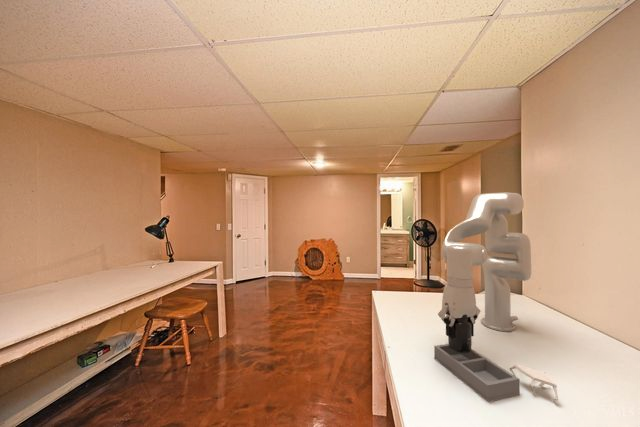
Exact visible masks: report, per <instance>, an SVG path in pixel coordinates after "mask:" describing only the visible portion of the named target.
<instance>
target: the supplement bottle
mask: <svg viewBox="0 0 640 427" xmlns="http://www.w3.org/2000/svg"><path fill="white" fill-rule="evenodd" d="M450 320H451V318H450V319H449V321H450ZM453 326H454V328H455V338H454V339H452V338H450V337H448V336H447V338H448V339H447V341H448V342H447V344H448V345H449V347H450V348H451V349H453V350H455V351H457V352H461V353H468V352H470V351H471V349H472V337H473V336H472V327H471V323H470V322H469V321H468V317H467V315H463V316H462V318H456V319H455V321H454V324H453Z"/></svg>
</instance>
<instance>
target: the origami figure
mask: <svg viewBox="0 0 640 427" xmlns="http://www.w3.org/2000/svg"><path fill="white" fill-rule="evenodd" d="M508 369H509V372H510V373H511V374H513V375H514V376H516V374H515V372H514V369H517V370H518V371H519V372H520V373H522V374H523V375H525V376H527V377H529V378H530V379H531V382H530V387H531V391H532V393H531V394H532V395H533V396H536V391H535V383H536V382H539V384H538V386H539V387H541V388H542V389H546V390H547V387H546V386H547V385H548V386H551V387H552V389H553V391H554V397H551V398H550V399H551V401H552V403H553V404H554V403H555V404H556V402H555V400H556V401H558V400H559V397H558V389H557V388H558V387H557V386H558V385H557V384H556V383H555V382H553V380H551V379H550V377H549V376H547V374H546V372H544V371H541V370H538V369H533V368H530V367H526V366H523V365H519V364H516V363H515V364H513V365H512V366H510V367H509V368H508ZM516 377H517V376H516ZM545 385H546V386H545ZM544 386H545V387H544Z"/></svg>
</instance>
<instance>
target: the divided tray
mask: <svg viewBox="0 0 640 427" xmlns="http://www.w3.org/2000/svg"><path fill="white" fill-rule="evenodd" d="M434 360H435V361H436V362H438V363H439V364H440V365H441V366H443V367H444V368H445V369H446V370H448V371H449V372H450V373H452V374H453V375H454V376H455V377H456V378H457V379H459V380H460V381H461V382H463V384H465V385H466V386H467V387H468V388H469V389H471V390H472V391H473V392H475V394H477V395H478V396H480V398H482V399H483V400H484V401H486V402H487V403H490V402H495V401H500V400H503V399H507V398H512V397H515V396H520V395H521V394H520V393H521V392H520V391H521V390H520V389H521V388H520V387H521V386H520V385H521V384H520V379H521V378H520V377H517V376H514V375H513V374H512V372H510V371H508V370H506V369H505V368H503V367H502V366H500V365H498V364H497V363H496V362H493V361H492V360H490V359H488V358H487V357H485V356H484V355H482V354H481V353H479V352H477V351H476V350H474V349H473V348H471V351H470V352H468V353H461V352H457V351H455V350H453V349H451V348H450V347H449V345H448V343H445V344H438V345H434Z"/></svg>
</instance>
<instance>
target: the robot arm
mask: <svg viewBox="0 0 640 427" xmlns="http://www.w3.org/2000/svg"><path fill="white" fill-rule="evenodd" d="M524 203H525V202H524V199H523V196H522V195H521V194H520V193H519V192H518V193H517V192H505V191H504V192H489V193H480V194H477V195H475V196H474V197H473V199H472V200H471V203H470V206H469V209H468V211H467V214H466V218H465V219H464V220H463V221H461V222H459V223H458V224H455V226H453V227H452V228H451V229H449V231H448V232H447V233H446V235H445V238H444V240H443V242H442V245H441V249H440V250H441V252H440V253H441V258H442V259H443V260H444V261H446V285H444V287H443V288H444V289H443V290H442V291H443V292H442V299H441V301H442V302H441V310H439V311H438V313H437V316H438V317H439V318H440V320H442V322H443V323H444V324H445V335H446V336H447V338H448V337H450V338H452V339H454V338H455V328H454V326H453V324H454V321H455V319H456V318H462V316H463V315H467V317H468V321H469V322H470V323H471V327H472V337H474V336H475V335H474V325H475V324H476V320H477V319H478V316H479V315H480V314H481V312H482V311H481V309H480V308H479V307H477V301H476V300H477V299H476V292H475V289H474V286H473V285H474V284H473V283H474V281H475V280H474V278H473V273H474V271H473V266H482V271H483V272H482V273H483V276H484V317H482V318H481V319H480V323H481V325H483V326H484V327H487V328H489V329H491V330H495V331H500V332H513V331H515V330H516V325H515V324H513V322H515V321H519V318H518V316H517V315H513V316H511V314H512V313H511V287H510V284H509V283H508V282H507V280H506V279H508V280H514V281H523V282H525V281H528V280H530V279H531V275H532V253H531V252H532V250H531V249H532V247H531V241H530V238H529V236H528V234H525V233H522V232H509V226H508V225H509V223H508V220H507V218H506V217H505V215H518V214H520V213H522V211H523V208H524ZM480 234H484V237H485V238H484V240H485V241H484V243H485V246H484V245H482V244H479V243H473V242H471V243H470V242H469V243H468V242H460V241H462V240H464V239H466V238H470V237H473V236H477V235H480ZM488 252H490V253H494V254H495V255H494V254H493V255H492V254H491V255H489V254H488ZM496 254H502V255H496ZM503 254H504V255H503ZM505 255H513V256H515V257H512V256H505ZM450 318H451V320H450V321H449V319H450Z"/></svg>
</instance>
